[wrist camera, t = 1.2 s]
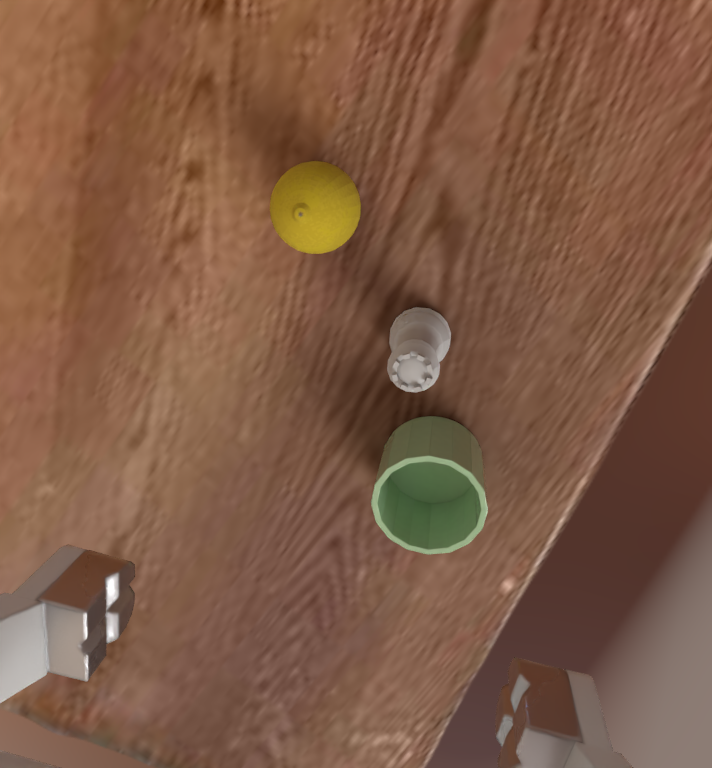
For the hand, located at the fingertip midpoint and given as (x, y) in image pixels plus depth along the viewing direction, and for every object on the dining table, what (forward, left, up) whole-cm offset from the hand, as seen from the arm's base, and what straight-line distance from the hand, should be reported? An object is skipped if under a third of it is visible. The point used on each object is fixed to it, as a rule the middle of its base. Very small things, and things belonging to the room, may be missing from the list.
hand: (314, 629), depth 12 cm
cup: (+13, +4, -32) cm, 34 cm away
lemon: (-5, -7, -32) cm, 33 cm away
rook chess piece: (+3, +1, -32) cm, 32 cm away
